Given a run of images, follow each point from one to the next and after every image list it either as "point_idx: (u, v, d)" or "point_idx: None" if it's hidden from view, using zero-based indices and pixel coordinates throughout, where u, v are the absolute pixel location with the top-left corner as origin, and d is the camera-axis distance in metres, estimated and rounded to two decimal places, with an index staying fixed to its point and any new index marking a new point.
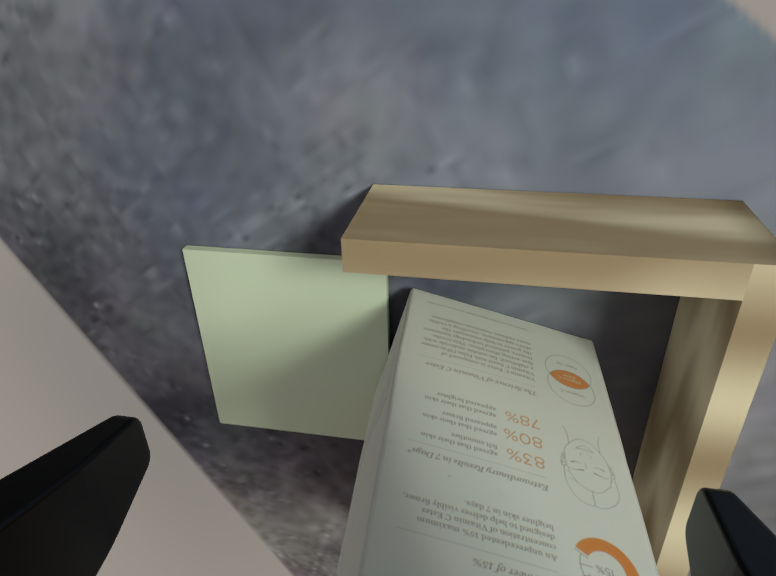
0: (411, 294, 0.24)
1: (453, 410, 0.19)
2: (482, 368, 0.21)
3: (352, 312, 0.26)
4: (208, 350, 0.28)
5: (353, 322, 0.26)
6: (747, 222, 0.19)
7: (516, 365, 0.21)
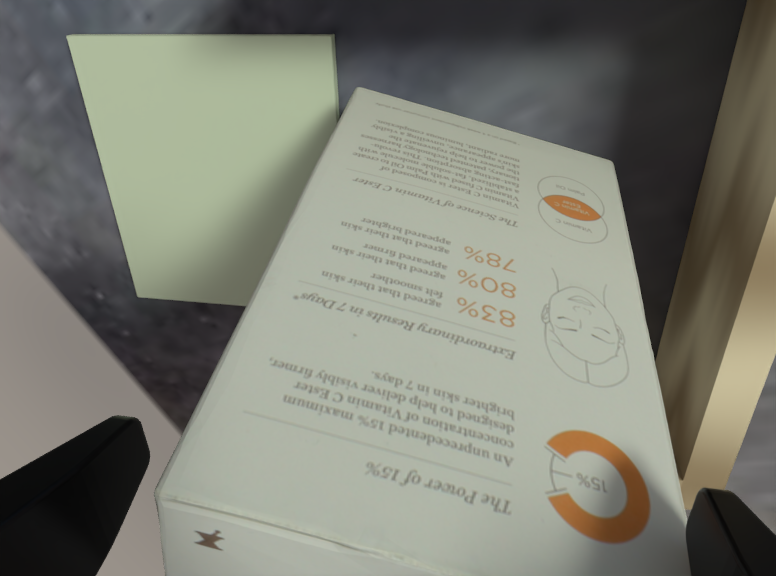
0: (353, 94, 0.17)
1: (382, 242, 0.12)
2: (440, 188, 0.14)
3: (291, 119, 0.19)
4: (114, 190, 0.22)
5: (293, 134, 0.20)
6: None
7: (494, 186, 0.15)
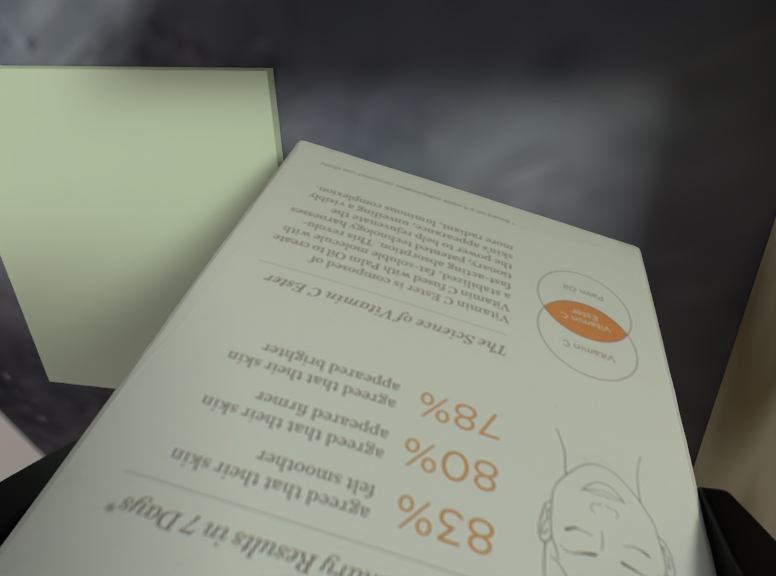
0: (293, 150, 0.12)
1: (287, 389, 0.08)
2: (394, 292, 0.10)
3: (221, 175, 0.15)
4: (8, 258, 0.17)
5: (225, 195, 0.15)
6: None
7: (474, 288, 0.10)
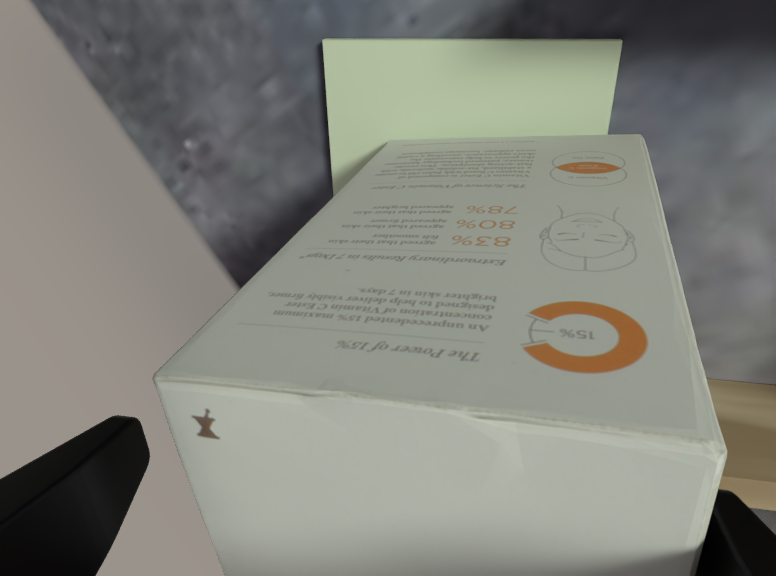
0: (385, 145, 0.19)
1: (388, 216, 0.14)
2: (451, 178, 0.15)
3: (557, 127, 0.19)
4: None
5: None
6: None
7: (505, 169, 0.16)
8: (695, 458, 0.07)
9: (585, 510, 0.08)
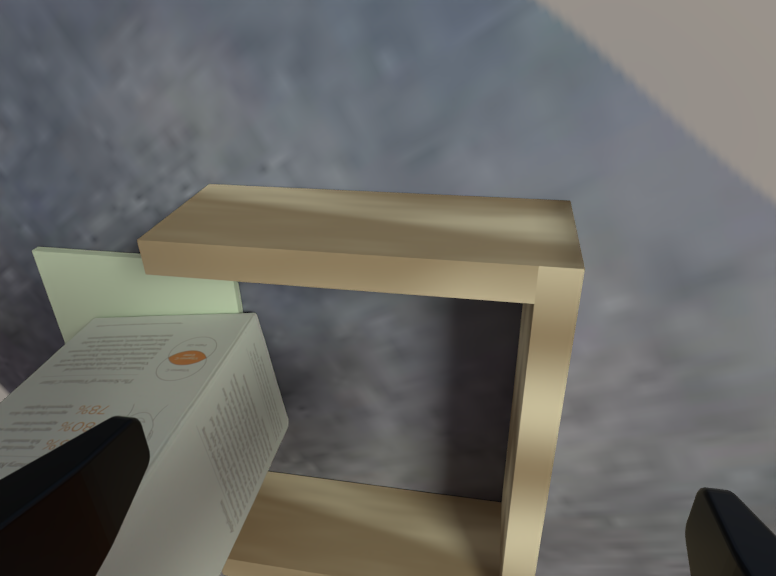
0: (87, 324, 0.26)
1: (25, 418, 0.20)
2: (95, 372, 0.22)
3: None
4: None
5: None
6: (560, 223, 0.18)
7: (137, 359, 0.22)
8: None
9: None
